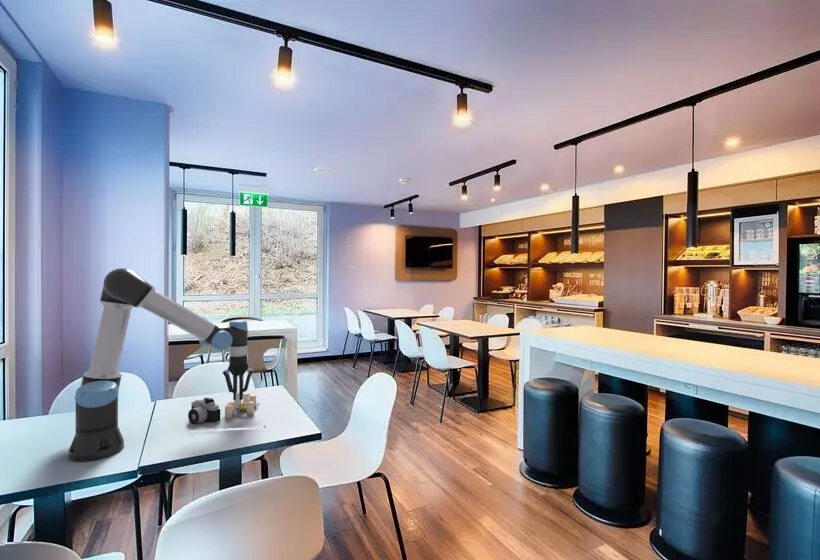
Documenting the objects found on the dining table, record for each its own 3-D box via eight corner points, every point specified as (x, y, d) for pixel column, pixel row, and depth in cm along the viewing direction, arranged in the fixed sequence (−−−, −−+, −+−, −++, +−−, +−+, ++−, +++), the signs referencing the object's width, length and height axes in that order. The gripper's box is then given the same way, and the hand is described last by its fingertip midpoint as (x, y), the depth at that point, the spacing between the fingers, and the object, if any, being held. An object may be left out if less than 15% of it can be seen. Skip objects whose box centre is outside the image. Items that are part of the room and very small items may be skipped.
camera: (179, 423, 166) (179, 399, 166) (199, 416, 174) (199, 393, 174) (204, 429, 159) (204, 404, 159) (223, 422, 167) (223, 398, 167)
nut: (249, 411, 177) (249, 404, 177) (238, 412, 176) (238, 405, 176) (250, 408, 182) (251, 401, 182) (240, 408, 181) (240, 402, 180)
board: (251, 420, 170) (251, 406, 170) (221, 421, 168) (221, 407, 168) (260, 404, 189) (260, 392, 189) (233, 406, 187) (233, 393, 187)
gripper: (255, 352, 183) (255, 403, 183) (225, 353, 181) (225, 405, 181) (251, 356, 175) (251, 409, 176) (220, 357, 173) (220, 410, 173)
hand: (238, 407), depth 178 cm, fingers closed
